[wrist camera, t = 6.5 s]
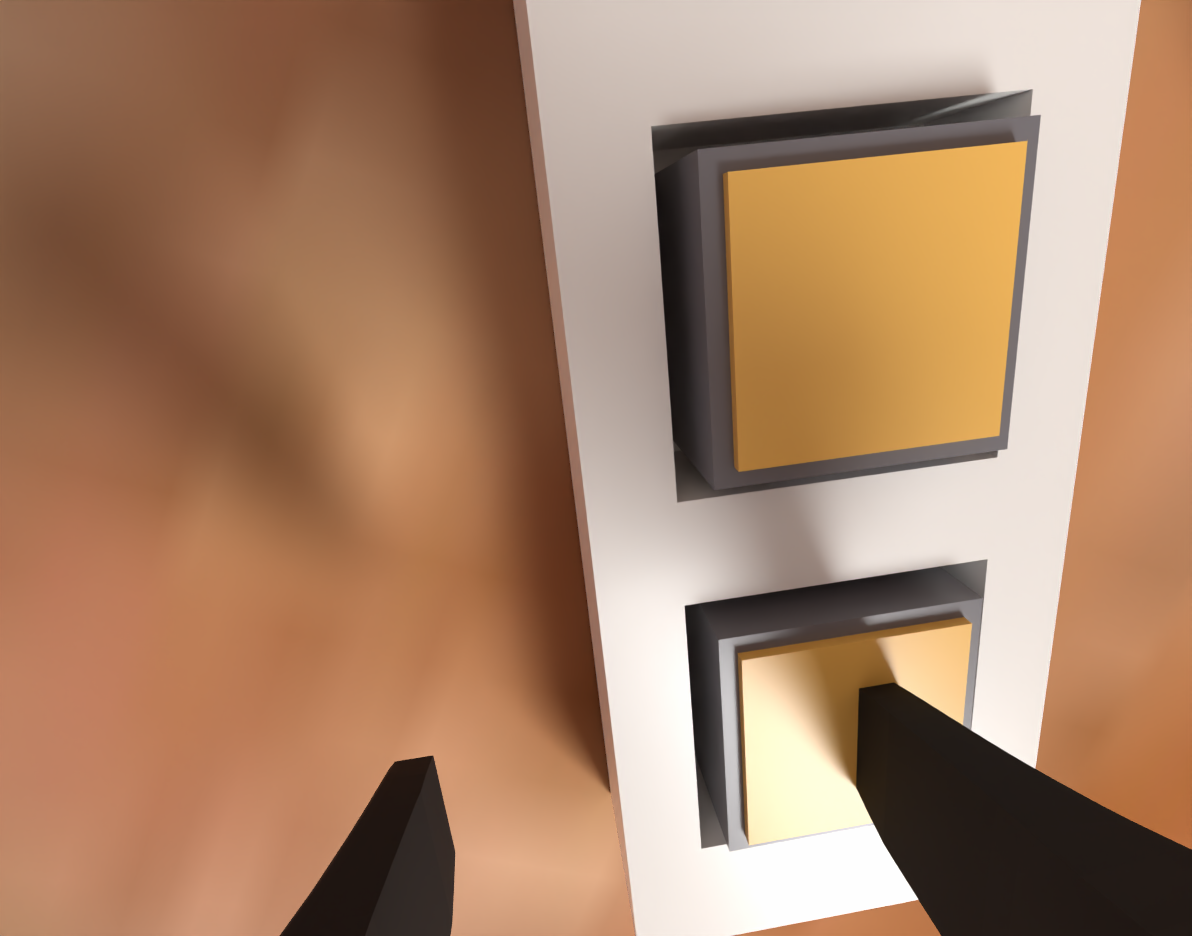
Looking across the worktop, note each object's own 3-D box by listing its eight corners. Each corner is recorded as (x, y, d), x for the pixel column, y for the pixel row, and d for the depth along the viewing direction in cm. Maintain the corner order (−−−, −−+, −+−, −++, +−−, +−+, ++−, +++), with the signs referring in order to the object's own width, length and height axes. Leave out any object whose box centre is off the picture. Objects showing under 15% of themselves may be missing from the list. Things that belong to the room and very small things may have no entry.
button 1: (688, 735, 15) (732, 861, 12) (674, 556, 13) (722, 646, 10) (878, 703, 15) (969, 817, 12) (885, 525, 13) (991, 604, 10)
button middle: (668, 434, 12) (718, 495, 9) (649, 177, 11) (701, 146, 8) (895, 404, 12) (1017, 453, 9) (907, 150, 11) (1052, 112, 8)
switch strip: (610, 795, 17) (638, 953, 13) (443, -566, 9) (389, -1150, 5) (909, 743, 17) (1019, 879, 14) (989, -576, 10) (1294, -1107, 6)
